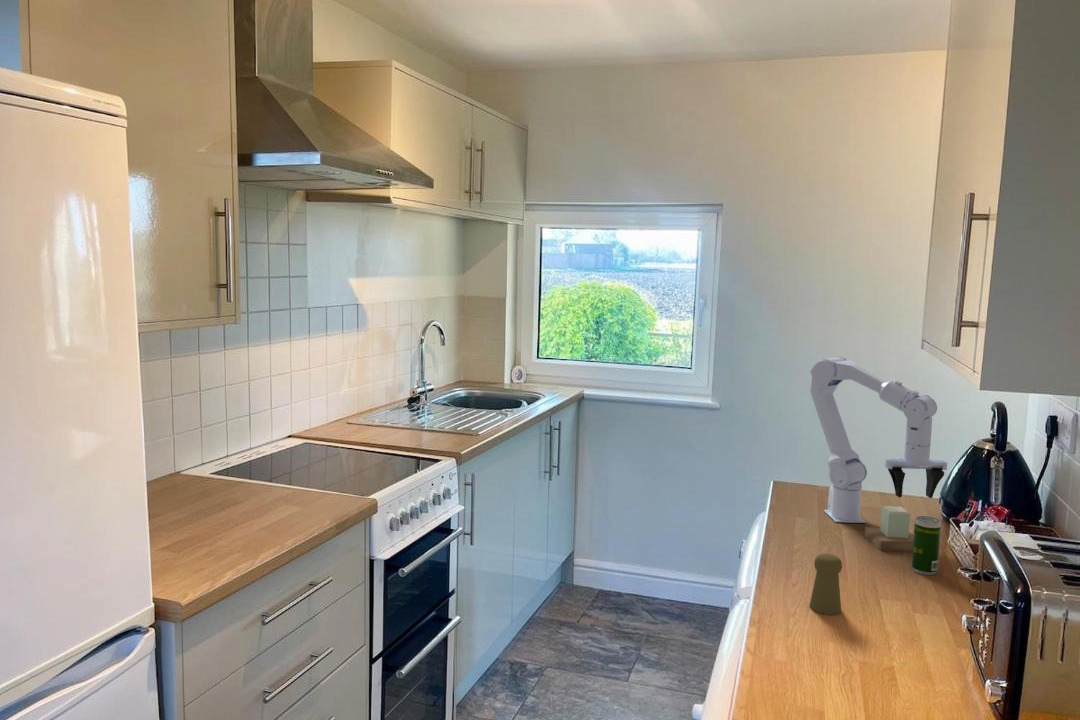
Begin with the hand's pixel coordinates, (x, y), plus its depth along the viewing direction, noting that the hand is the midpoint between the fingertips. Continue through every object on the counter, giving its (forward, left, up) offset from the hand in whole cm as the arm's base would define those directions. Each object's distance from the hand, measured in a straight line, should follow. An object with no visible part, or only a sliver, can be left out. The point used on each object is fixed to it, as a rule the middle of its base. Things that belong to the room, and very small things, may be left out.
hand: (913, 496), depth 198 cm
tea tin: (+6, -7, -8) cm, 12 cm away
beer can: (+23, -7, -11) cm, 26 cm away
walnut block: (+6, -7, -11) cm, 14 cm away
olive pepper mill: (+44, -36, -11) cm, 58 cm away
